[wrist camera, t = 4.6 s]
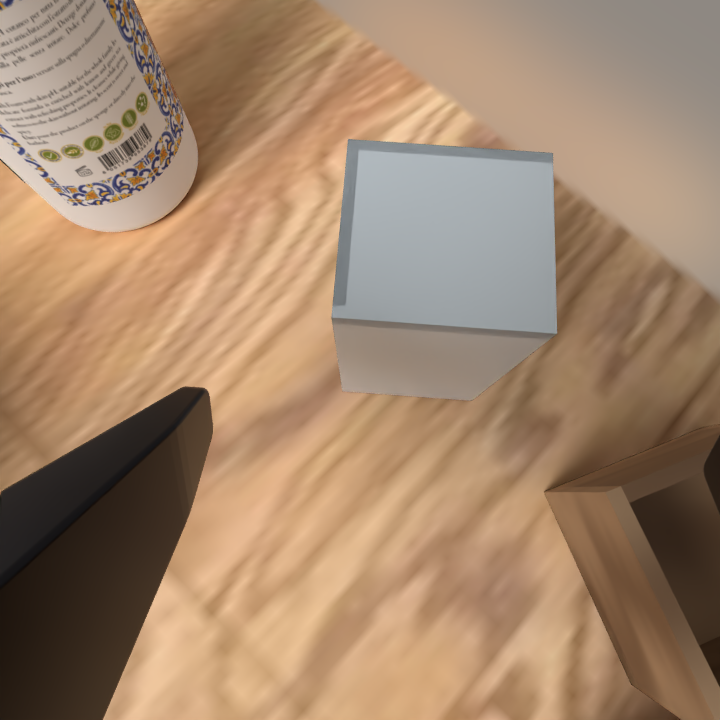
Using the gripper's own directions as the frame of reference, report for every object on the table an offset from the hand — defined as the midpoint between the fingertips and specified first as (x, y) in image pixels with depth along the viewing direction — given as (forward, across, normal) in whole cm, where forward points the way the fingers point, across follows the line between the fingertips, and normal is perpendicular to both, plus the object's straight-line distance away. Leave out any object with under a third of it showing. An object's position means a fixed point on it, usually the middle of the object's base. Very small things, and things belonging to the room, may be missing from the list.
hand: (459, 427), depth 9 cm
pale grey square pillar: (+11, 0, +4) cm, 12 cm away
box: (+6, -10, +10) cm, 15 cm away
